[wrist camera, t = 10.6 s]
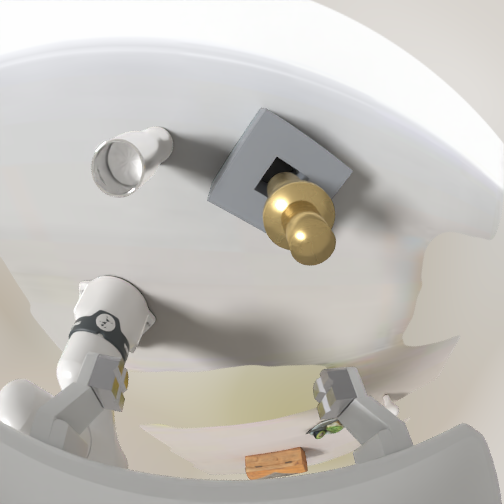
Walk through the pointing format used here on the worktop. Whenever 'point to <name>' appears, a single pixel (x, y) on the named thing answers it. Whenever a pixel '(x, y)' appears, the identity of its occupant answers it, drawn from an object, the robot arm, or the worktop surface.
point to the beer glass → (130, 160)
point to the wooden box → (276, 464)
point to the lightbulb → (390, 405)
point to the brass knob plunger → (299, 218)
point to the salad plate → (326, 428)
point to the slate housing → (259, 160)
